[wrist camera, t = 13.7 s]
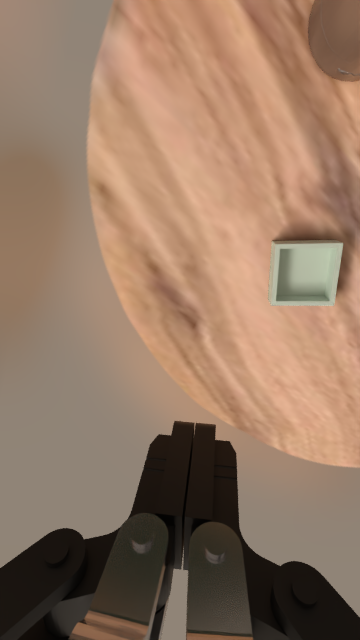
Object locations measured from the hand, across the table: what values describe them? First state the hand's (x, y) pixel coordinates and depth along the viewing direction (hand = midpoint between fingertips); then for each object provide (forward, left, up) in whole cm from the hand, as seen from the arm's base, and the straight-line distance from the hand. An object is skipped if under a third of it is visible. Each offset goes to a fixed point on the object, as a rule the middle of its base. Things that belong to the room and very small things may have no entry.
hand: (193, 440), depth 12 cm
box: (+1, +11, -30) cm, 32 cm away
